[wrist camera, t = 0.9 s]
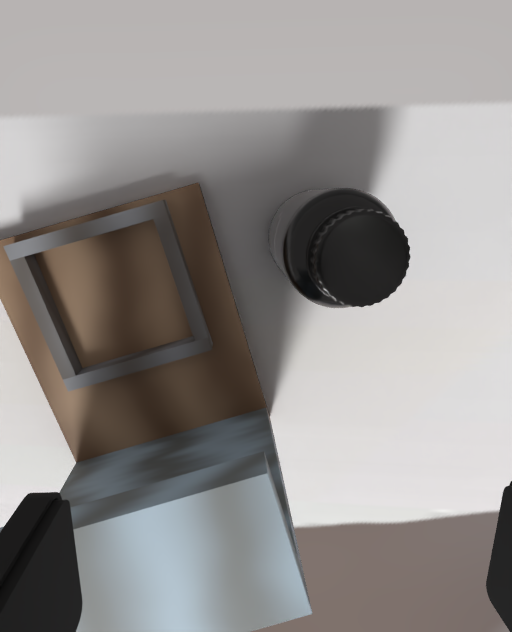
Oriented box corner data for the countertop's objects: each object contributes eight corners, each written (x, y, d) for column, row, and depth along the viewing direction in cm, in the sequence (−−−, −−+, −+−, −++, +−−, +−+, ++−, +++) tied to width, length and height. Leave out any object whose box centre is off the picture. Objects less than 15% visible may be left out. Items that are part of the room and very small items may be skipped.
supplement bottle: (249, 225, 31) (264, 238, 19) (326, 171, 30) (390, 151, 19) (298, 299, 33) (339, 351, 21) (372, 249, 32) (456, 275, 21)
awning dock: (199, 183, 30) (167, 157, 13) (269, 417, 35) (312, 613, 18) (-16, 245, 30) (-323, 300, 13) (87, 470, 35) (-38, 715, 18)
